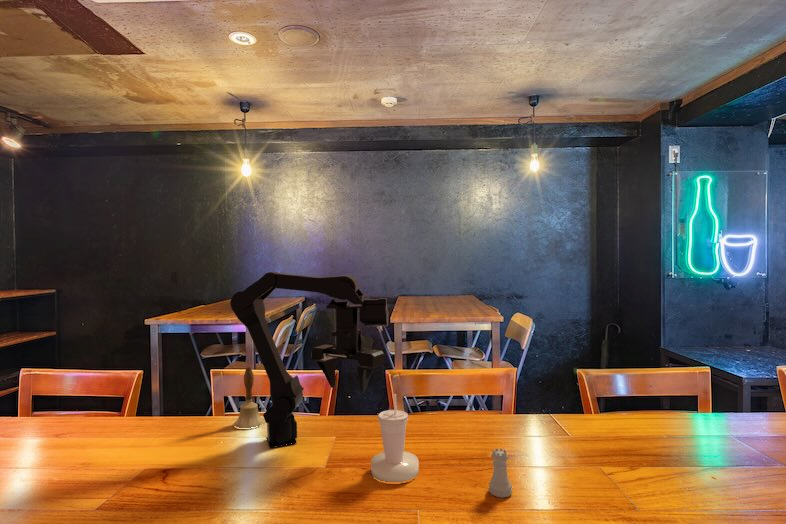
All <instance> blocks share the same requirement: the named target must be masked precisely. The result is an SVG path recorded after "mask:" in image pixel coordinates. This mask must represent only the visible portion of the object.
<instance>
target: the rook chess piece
mask: <svg viewBox="0 0 786 524" xmlns="http://www.w3.org/2000/svg"><path fill="white" fill-rule="evenodd" d="M491 458H492V459H493V462H492V466H493V473H492V477H491V478H490V480H489V483H488V485H489V487H488V491H489V493H490V494H491V495H492V496H493V495H494V497H495V496H496V497H495V498H499V497H500V499H506V498H509V497H510V496H511V495H512V494H513V489H512V488H513V484H512V482H511V480H510V479H509V477H508V470H507V467H508V466H509V465H508V462H507V461H508V459H509V454H508V452H507V450H506V449H503V448H494V449H493V450H492V453H491ZM505 497H506V498H505Z"/></svg>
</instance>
